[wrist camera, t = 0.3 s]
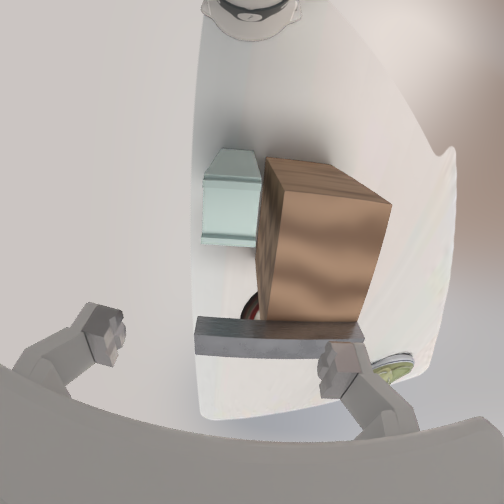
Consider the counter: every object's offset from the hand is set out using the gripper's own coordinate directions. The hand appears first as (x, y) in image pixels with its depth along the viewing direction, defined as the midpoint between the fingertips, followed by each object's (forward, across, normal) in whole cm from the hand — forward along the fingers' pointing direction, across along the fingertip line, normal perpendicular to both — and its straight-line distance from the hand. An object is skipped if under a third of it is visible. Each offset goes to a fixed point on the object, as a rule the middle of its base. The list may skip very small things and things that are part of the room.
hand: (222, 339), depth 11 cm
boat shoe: (+46, -49, +60) cm, 90 cm away
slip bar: (+20, -7, +19) cm, 29 cm away
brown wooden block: (+47, -10, +13) cm, 50 cm away
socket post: (+47, +3, +6) cm, 47 cm away
